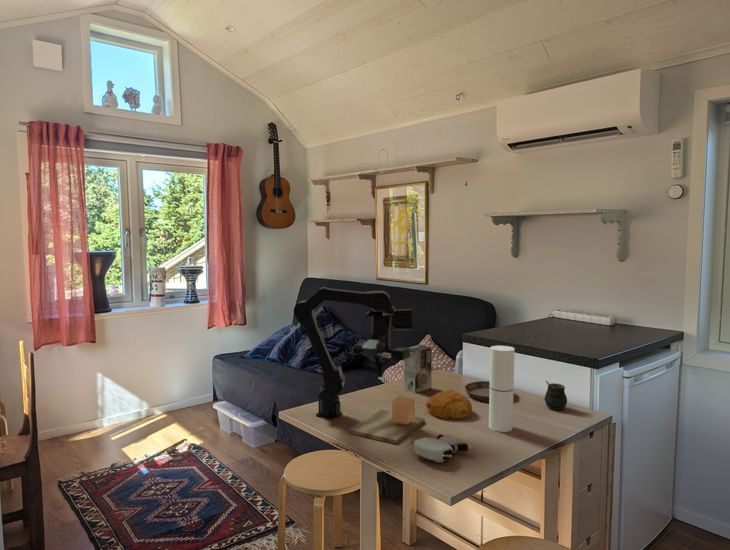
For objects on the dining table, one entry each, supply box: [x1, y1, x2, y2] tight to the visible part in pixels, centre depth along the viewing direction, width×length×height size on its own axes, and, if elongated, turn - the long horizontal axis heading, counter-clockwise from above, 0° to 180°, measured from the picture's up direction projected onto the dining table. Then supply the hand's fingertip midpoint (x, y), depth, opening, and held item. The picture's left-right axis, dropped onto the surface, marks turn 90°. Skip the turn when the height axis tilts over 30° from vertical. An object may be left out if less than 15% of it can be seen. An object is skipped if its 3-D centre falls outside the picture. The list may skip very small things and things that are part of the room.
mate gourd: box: [544, 380, 568, 411], centre depth 182 cm, size 7×8×10 cm
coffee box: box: [403, 344, 432, 394], centre depth 204 cm, size 9×6×16 cm
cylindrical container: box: [488, 345, 516, 433], centre depth 164 cm, size 7×7×25 cm
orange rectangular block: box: [391, 395, 416, 424], centre depth 165 cm, size 5×5×7 cm
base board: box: [348, 409, 426, 445], centre depth 165 cm, size 16×20×1 cm
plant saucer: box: [463, 380, 514, 402], centre depth 196 cm, size 18×18×3 cm
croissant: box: [425, 389, 473, 420], centre depth 179 cm, size 14×16×8 cm
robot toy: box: [407, 433, 473, 464], centre depth 145 cm, size 12×4×15 cm
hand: (380, 377), depth 174 cm, fingers closed
